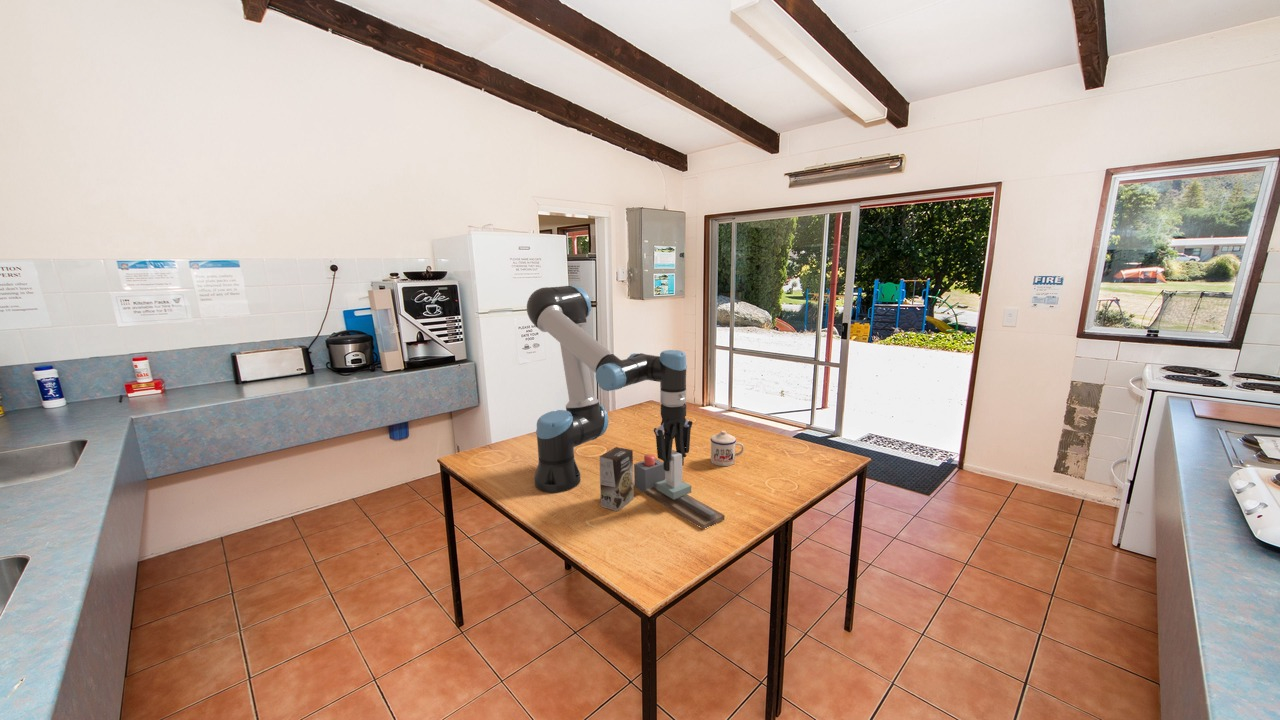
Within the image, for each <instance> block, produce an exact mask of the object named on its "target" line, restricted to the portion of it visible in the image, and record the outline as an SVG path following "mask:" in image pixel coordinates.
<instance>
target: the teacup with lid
mask: <svg viewBox="0 0 1280 720" xmlns="http://www.w3.org/2000/svg"><path fill="white" fill-rule="evenodd" d="M736 446H740V447H741V450H740V451H739V452H738V453H737V452H736ZM744 451H745V447H744V444H743V443H741V442H737V438H736V437H735V436H734V435H732V434H729V433H727V431H726V430H720V432H719V433H716V434H713V435H712V436H711V437H710V461H711V463H712V464H713V465H716V466H720V467H728V466H729V467H730V466H733V465H734V464H735V462H736V457H740V456H742V454H743V453H744Z"/></svg>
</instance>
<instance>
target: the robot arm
mask: <svg viewBox="0 0 1280 720" xmlns="http://www.w3.org/2000/svg"><path fill="white" fill-rule="evenodd" d="M527 299H528V300H527V302H526V312H527V316H528V318H529V321H530V322H531V323H532V325H534V326H535V328H537V329H538V330H539V331H541V332H542V333H548V334H549V335H550V336H551V337H552V338H554V339H555V340H556V341H557V342H558V343H559V346H560V351H561V357H562V364H563V365H562V366H563V371H564V375H565V376H564V377H565V381H566V382H565V383H566V388H567V394H568V395H567V396H568V402H567V403H566V404H565V409H557V410H552V411H548V412H546V413H544V414H542V415H541V416H540V417H539V418H538V419H537V421H536V430H535V434H536V440H537V457H538V464H537V467H536V470H535V474H534V486H535V488H536V489H537V490H539V491H542V492H545V493H561V492H566V491H569V490H572V489H574V488H575V487H577V486H579V484H580V483H581V472H580V470H579V467H578V465H577V463H576V460H575V451H574V450H575V447H578V446H580V445H583V444H586V443H587V442H590V441H594V440H596V439H598V438H599V437H601V436H603V435H604V434H605V433H606V431H607V429H608V427H609V423H610V421H609V420H610V419H609V416H608V411H607V410H606V409H605V407H604V406H603V405H602V404H600V401H599V399H598V398H597V397H595V396H594V389H593V383H592V376H591V371H592V372H593V373H595V380H596V383H598V387H600V389H601V390H603V391H605V392H606V391H607V392H611V391H617V390H620V389H622V388H624V387H628V386H631V385H634V384H638V383H641V382H644V381H645V382H646V381H652V382H658V383H660V391H659V392H660V393H659V394H660V395H659V397H660V417H661V422H660V426H659V427H654V428H653V433H654V435H655V441H656V442H655V443H656V454H657V456H656V457H657V459H658V460H660V461H662V462H663V465H664V470H665V480H666V479H667V480H669V481H670V482H672V481H673V461H672V460H671V452H672V450H673V443H674V444H675V451H676V452H679V453H681V454H682V467H684V464H685V463H684V462H685V460H684V459H685V458H686V457H687V454H688V453H690V446H691V431H692V426H693V421H692V420H689V419H686V417H687V404H686V403H687V366H688V365H687V356H686V353H685V352H684V351H682V350H679V349H678V350H676V349H667V350H662V351H661V352H660V354H659V355H654V354H647V353H646V354H645V353H631V354H630V355H629V356H627V358H626V359H620V358H619V357H618V356H616V355H615V354H614V353H613V352H611V351H610V350H609V349H607V348H606V347H605V345H603V344H601V343H600V342H599V341H598V340H597V339H595V338H594V337H593V336H592V335H590V333H588V332H587V331H586V330H584V328H585V327H586V325H587V324H588V322H587V318H588V317H589V315H590V314H591V310H592V302H591V299H590V297H589V295H588V292H586V290H585V289H583V288H582V287H580V286H576V285H564V286H563V285H562V286H553V287H552V286H551V287H546V286H545V287H541V288H538V289H536V290H535V291H533V292H532V293H531V294H530V295H529V297H528V298H527ZM673 441H674V442H673Z"/></svg>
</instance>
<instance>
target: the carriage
mask: <svg viewBox="0 0 1280 720" xmlns="http://www.w3.org/2000/svg"><path fill="white" fill-rule="evenodd" d="M671 460H672V461H673V481H672V482H670V481H669V480H667V479H665V480H663V481H660V482H658V483H657V490H658V491H660V492H662V493H663V494H665V495H667V496H668V497H670V498H672V499H676V498H679V497H681V496H684V495H686V494H687V495H689V494H691V493H692V485H691V484H689V483H687V482H685V481H683V466H682V454H681V453H679V452H676V450H674V449H672V452H671Z"/></svg>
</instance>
